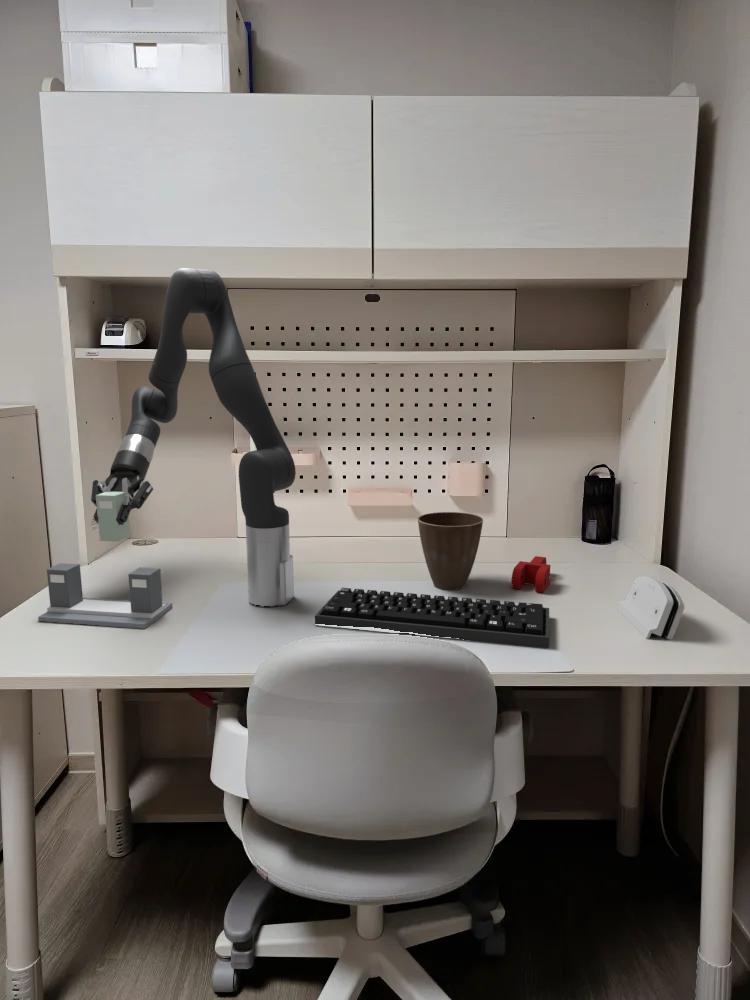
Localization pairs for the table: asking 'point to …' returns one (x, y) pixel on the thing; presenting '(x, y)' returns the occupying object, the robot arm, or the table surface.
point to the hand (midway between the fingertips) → (108, 522)
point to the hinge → (652, 607)
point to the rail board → (104, 600)
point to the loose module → (111, 517)
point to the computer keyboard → (440, 616)
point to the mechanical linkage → (532, 574)
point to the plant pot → (450, 546)
